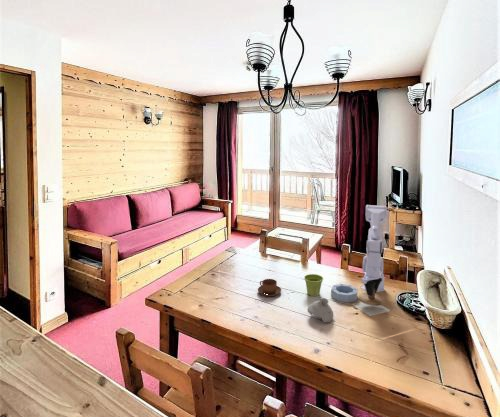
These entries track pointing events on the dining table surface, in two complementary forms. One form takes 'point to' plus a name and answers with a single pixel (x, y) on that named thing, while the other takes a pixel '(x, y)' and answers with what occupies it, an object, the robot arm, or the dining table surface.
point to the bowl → (344, 293)
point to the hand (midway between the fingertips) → (371, 293)
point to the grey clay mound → (321, 310)
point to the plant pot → (313, 284)
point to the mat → (371, 308)
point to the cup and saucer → (269, 287)
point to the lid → (371, 299)
